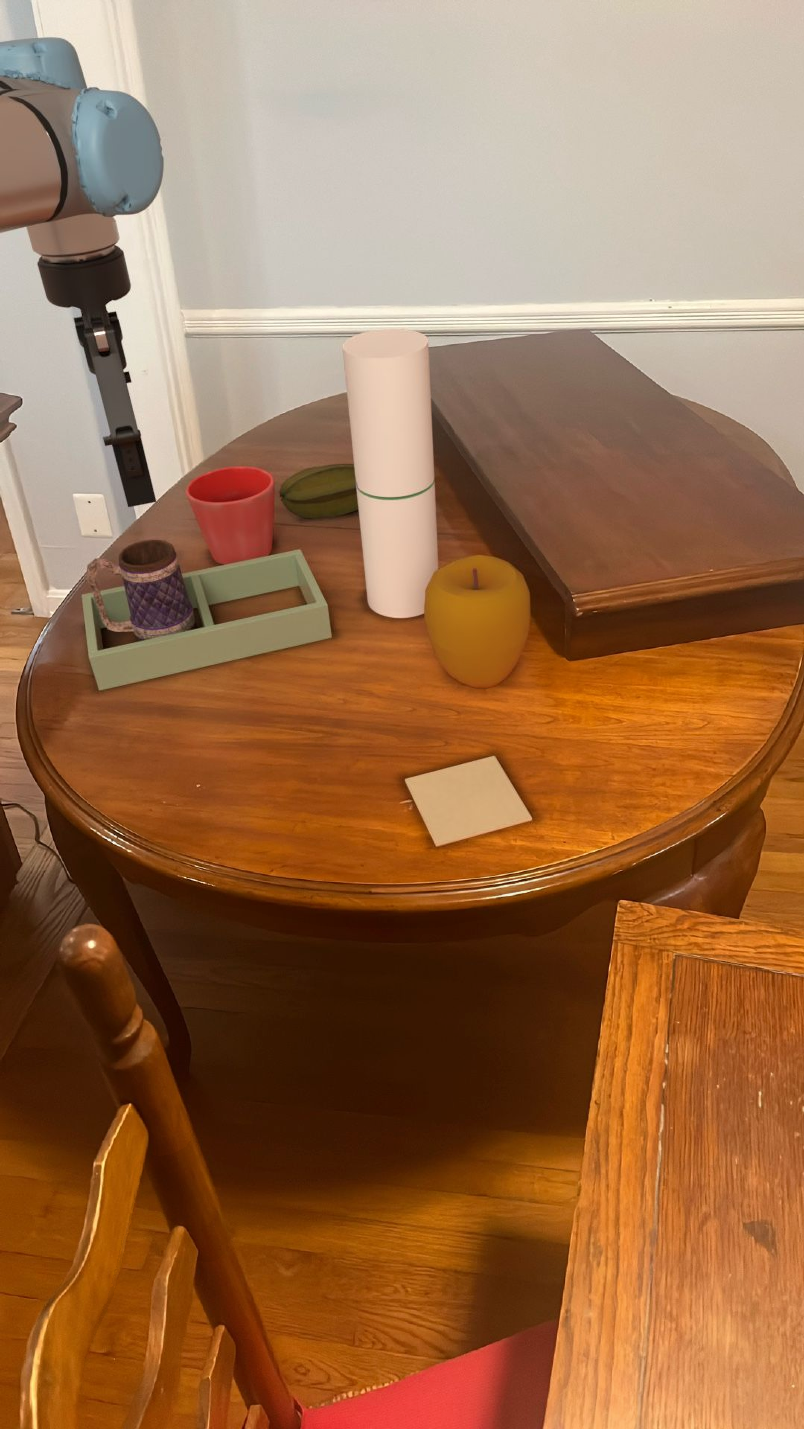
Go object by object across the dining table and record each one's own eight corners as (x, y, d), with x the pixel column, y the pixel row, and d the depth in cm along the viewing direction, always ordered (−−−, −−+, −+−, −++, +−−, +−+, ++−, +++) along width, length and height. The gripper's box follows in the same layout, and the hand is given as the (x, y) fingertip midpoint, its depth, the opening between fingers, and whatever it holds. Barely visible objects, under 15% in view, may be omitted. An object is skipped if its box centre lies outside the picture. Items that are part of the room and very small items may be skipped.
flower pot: (223, 529, 135) (210, 461, 128) (297, 537, 131) (287, 468, 125) (185, 568, 127) (169, 498, 121) (263, 578, 124) (250, 507, 118)
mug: (196, 619, 117) (175, 528, 110) (202, 652, 112) (180, 559, 104) (109, 636, 116) (81, 545, 108) (110, 670, 110) (81, 577, 103)
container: (352, 603, 118) (324, 348, 99) (399, 572, 123) (381, 324, 104) (408, 627, 113) (389, 364, 94) (454, 593, 118) (445, 337, 99)
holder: (99, 691, 107) (88, 657, 104) (91, 626, 117) (81, 594, 115) (332, 638, 112) (327, 604, 110) (305, 580, 123) (300, 548, 120)
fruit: (328, 485, 143) (323, 441, 139) (394, 505, 137) (391, 460, 133) (274, 518, 136) (267, 473, 132) (342, 540, 130) (336, 494, 126)
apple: (438, 639, 111) (433, 536, 103) (535, 646, 109) (538, 542, 101) (417, 699, 103) (410, 592, 95) (522, 708, 100) (524, 600, 92)
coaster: (436, 847, 86) (435, 844, 86) (404, 781, 93) (404, 778, 93) (532, 821, 88) (532, 818, 88) (494, 758, 95) (494, 755, 94)
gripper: (136, 280, 79) (189, 520, 92) (110, 215, 98) (157, 423, 111) (39, 294, 77) (107, 537, 91) (32, 226, 96) (89, 435, 109)
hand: (135, 475), depth 101 cm, fingers open, 13 cm apart
